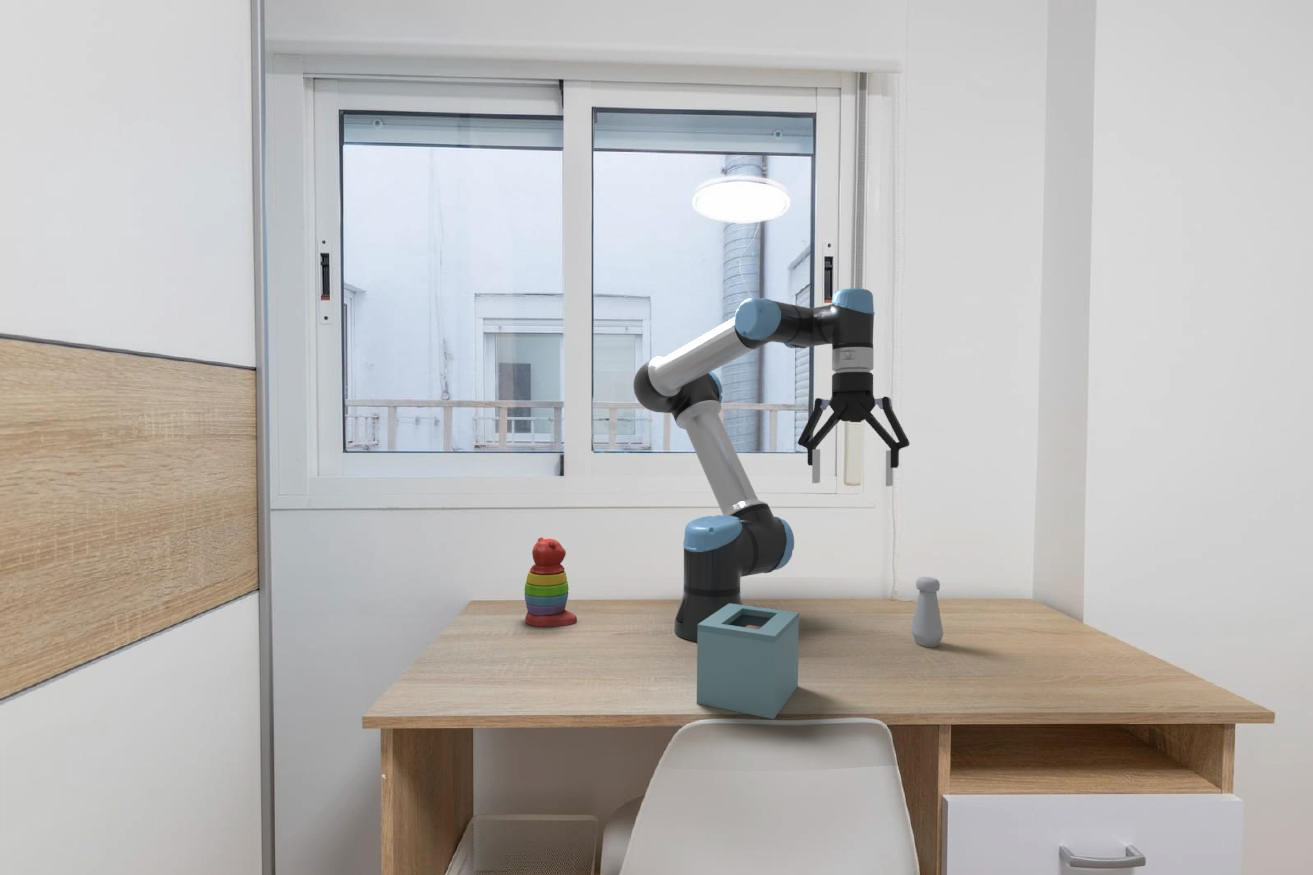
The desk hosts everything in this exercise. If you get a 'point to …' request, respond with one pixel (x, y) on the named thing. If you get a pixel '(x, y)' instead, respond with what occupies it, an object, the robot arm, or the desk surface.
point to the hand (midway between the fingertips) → (851, 484)
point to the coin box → (748, 659)
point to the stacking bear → (547, 586)
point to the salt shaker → (927, 614)
